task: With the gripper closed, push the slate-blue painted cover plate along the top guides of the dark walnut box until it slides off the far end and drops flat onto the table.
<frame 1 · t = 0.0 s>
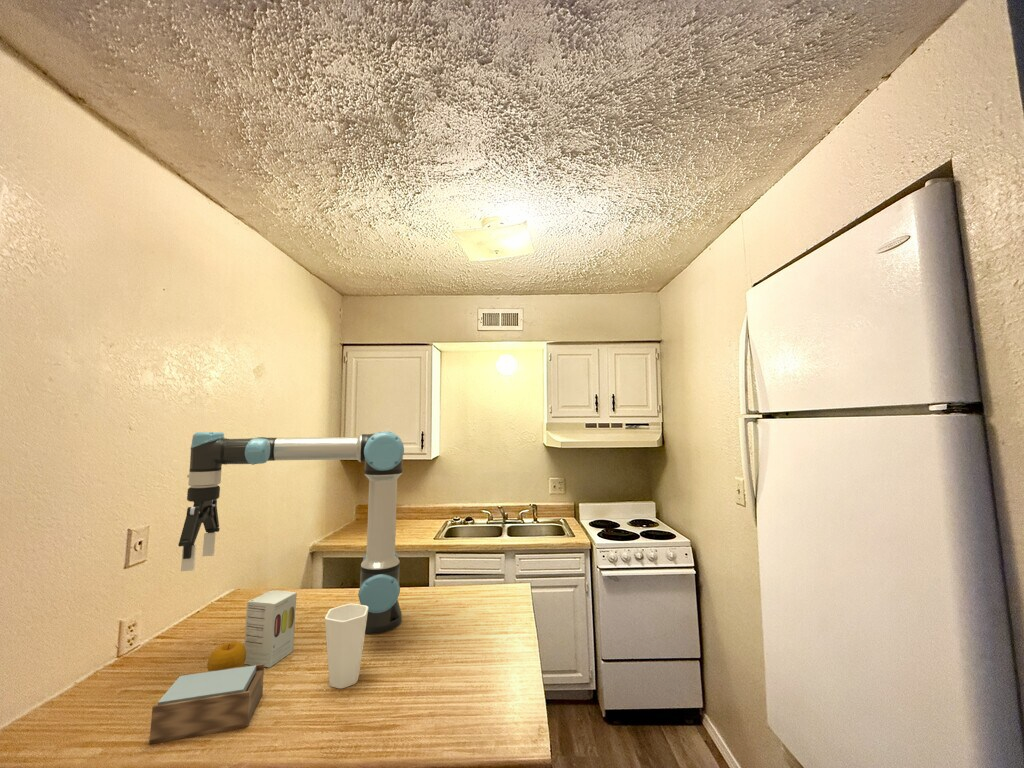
hand: (198, 562, 118), 28 cm above the worktop, fingers open, 13 cm apart
apple: (225, 680, 110), on the worktop
box: (210, 717, 96), on the worktop
cover plate: (210, 689, 96), point 6 cm above the worktop, touching box
supplement box: (268, 658, 121), on the worktop
cup: (344, 681, 110), on the worktop
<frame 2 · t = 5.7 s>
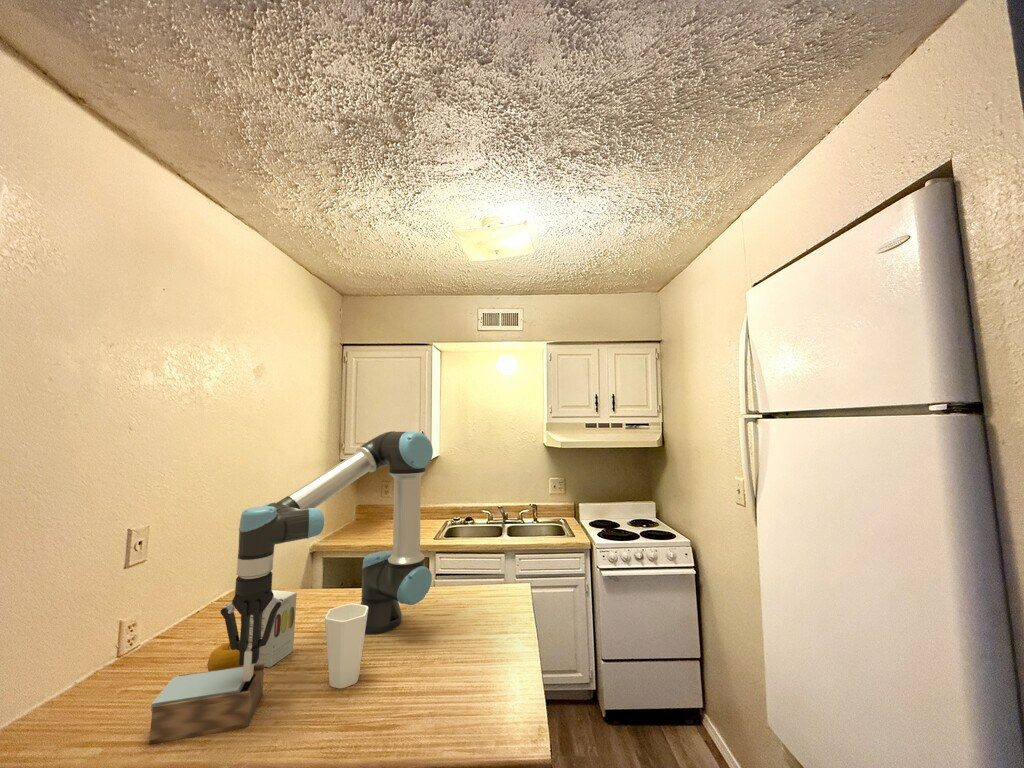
hand: (247, 678, 99), 7 cm above the worktop, fingers closed
cover plate: (204, 690, 96), point 6 cm above the worktop, touching gripper
everything else where it was.
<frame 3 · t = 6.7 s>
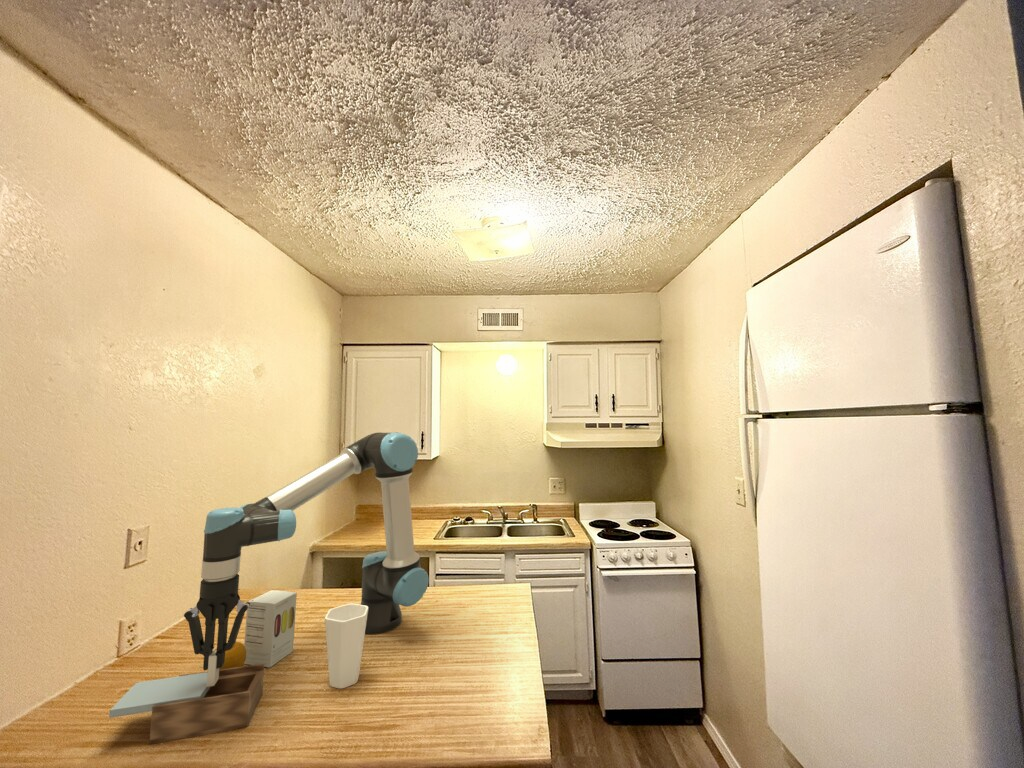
hand: (212, 682, 96), 7 cm above the worktop, fingers closed
cover plate: (167, 696, 94), point 6 cm above the worktop, touching gripper
everything else where it was.
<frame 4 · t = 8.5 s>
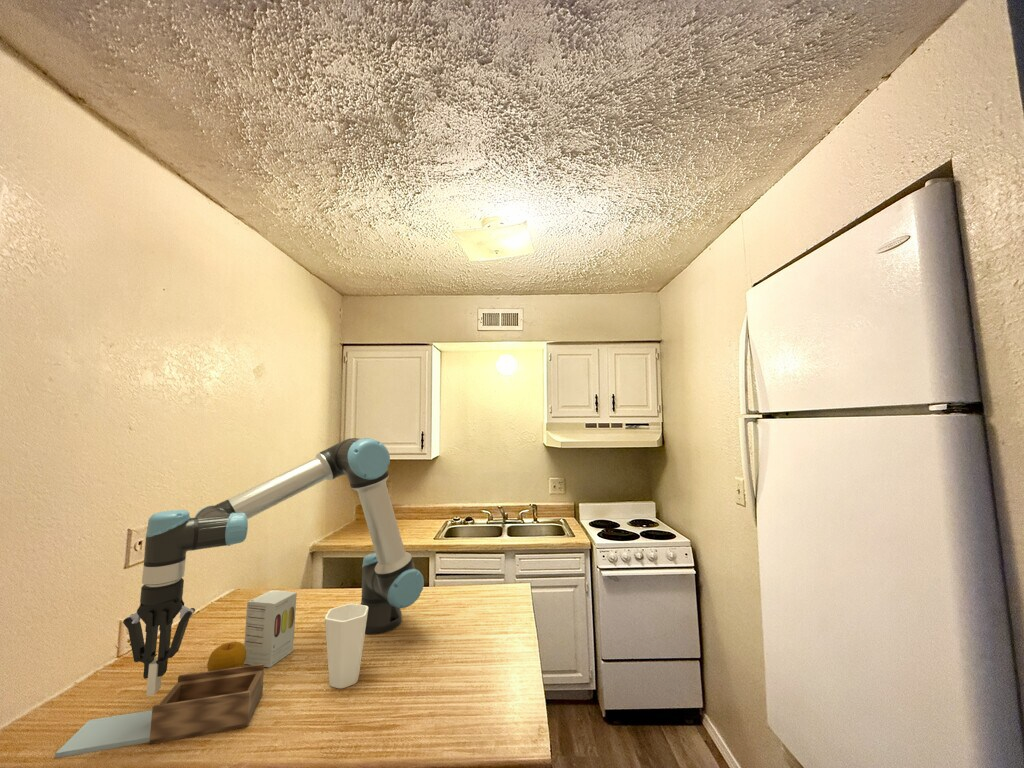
hand: (153, 691, 93), 7 cm above the worktop, fingers closed
cover plate: (118, 735, 91), on the worktop
everything else where it was.
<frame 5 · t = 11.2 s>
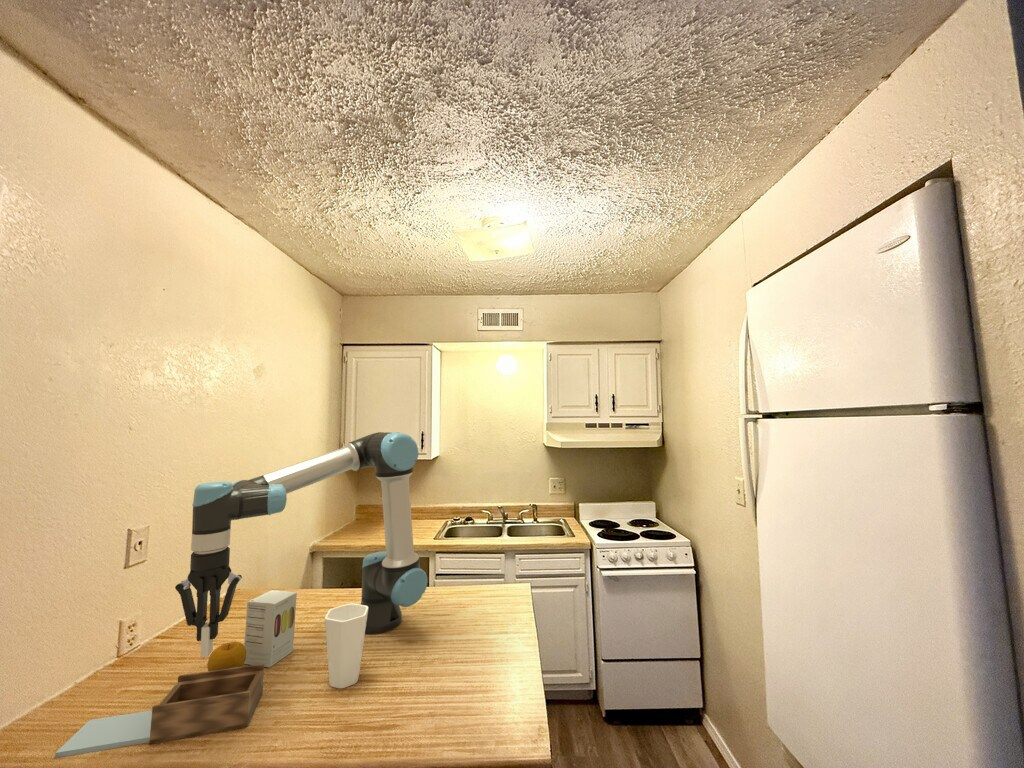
hand: (206, 653, 97), 14 cm above the worktop, fingers closed
nothing on the worktop moved.
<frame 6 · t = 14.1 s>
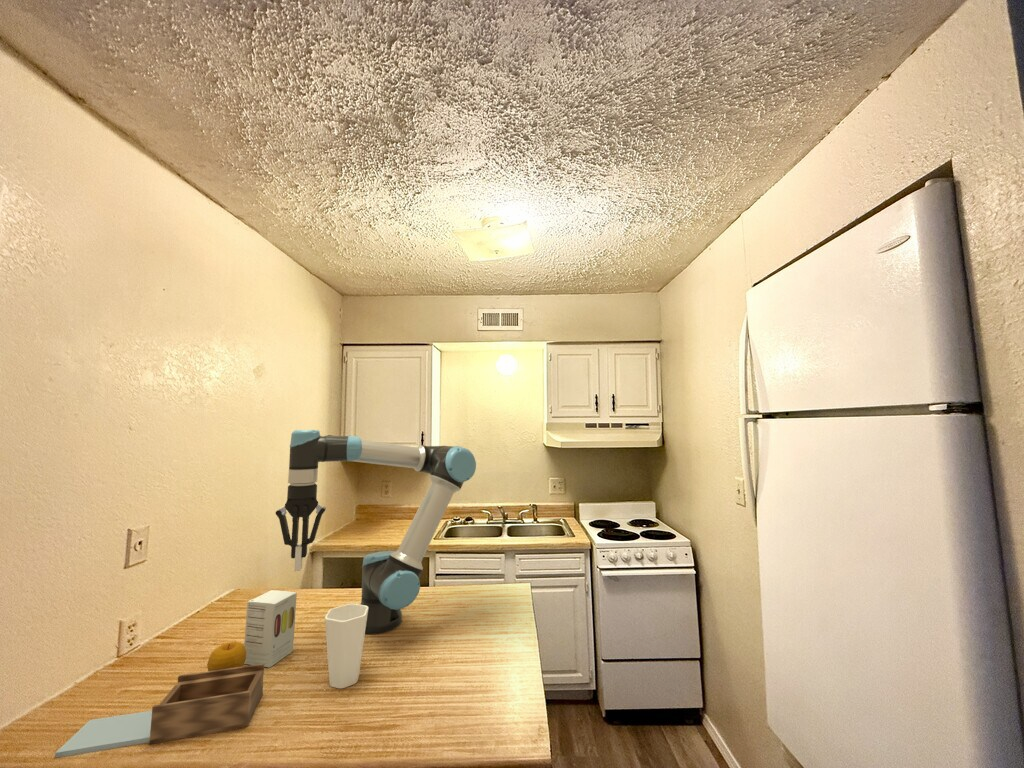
hand: (298, 569, 117), 26 cm above the worktop, fingers closed
nothing on the worktop moved.
at the end: cover plate inside the target area on the worktop beside the box (3.4 cm from its centre), on the worktop; cover plate moved 17.9 cm from its start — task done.
